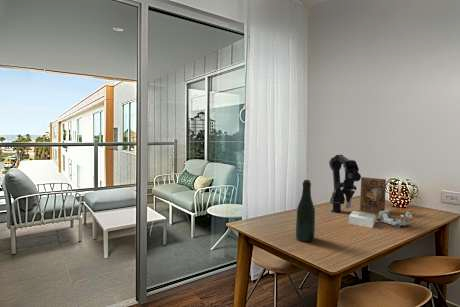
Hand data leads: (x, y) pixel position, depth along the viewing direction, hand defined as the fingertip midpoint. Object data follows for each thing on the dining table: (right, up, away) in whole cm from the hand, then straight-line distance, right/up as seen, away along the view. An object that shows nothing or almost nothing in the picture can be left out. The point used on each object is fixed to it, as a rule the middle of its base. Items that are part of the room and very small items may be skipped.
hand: (348, 201), depth 190 cm
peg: (0, -4, 0) cm, 4 cm away
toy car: (+27, -14, -6) cm, 31 cm away
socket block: (+7, -13, -5) cm, 15 cm away
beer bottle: (-39, -15, -34) cm, 54 cm away
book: (+26, -11, +21) cm, 36 cm away
